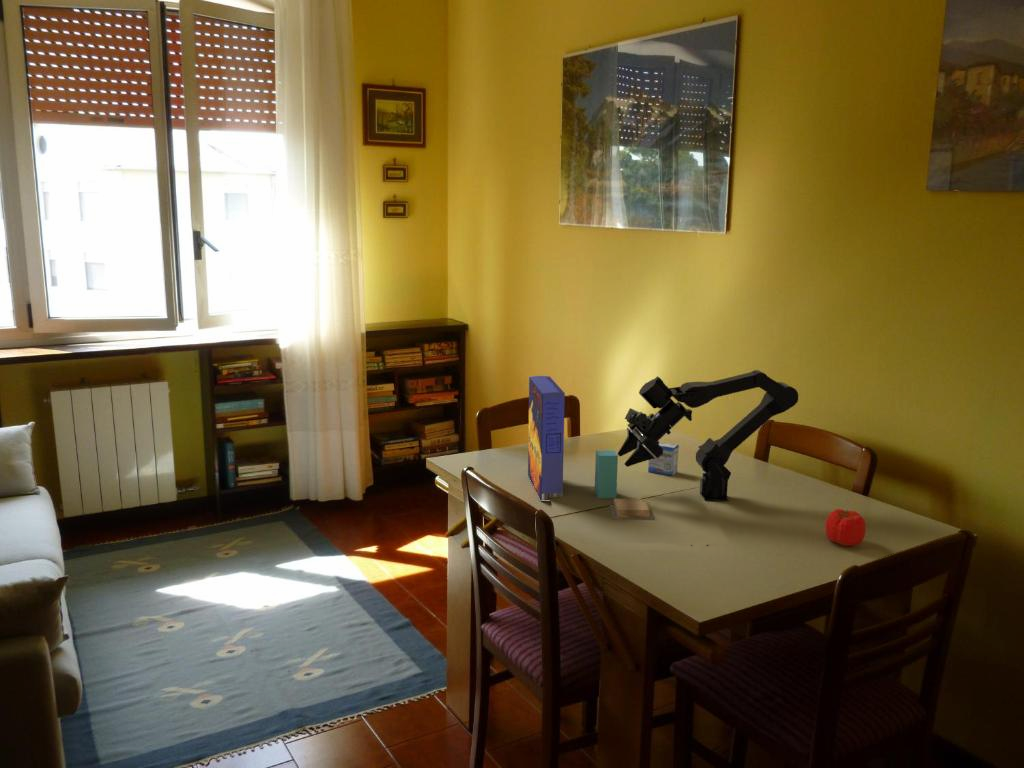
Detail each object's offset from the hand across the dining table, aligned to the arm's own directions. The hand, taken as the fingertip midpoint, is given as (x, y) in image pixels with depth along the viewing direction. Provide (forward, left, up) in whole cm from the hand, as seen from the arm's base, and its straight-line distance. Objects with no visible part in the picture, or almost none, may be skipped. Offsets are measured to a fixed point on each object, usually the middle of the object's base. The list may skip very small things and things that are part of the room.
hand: (622, 460), depth 227 cm
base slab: (-1, +13, -12) cm, 18 cm away
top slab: (-1, +13, -10) cm, 16 cm away
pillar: (+4, 0, -11) cm, 12 cm away
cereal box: (+20, -9, -11) cm, 25 cm away
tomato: (-49, +30, -11) cm, 59 cm away
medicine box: (-16, -24, -11) cm, 31 cm away
